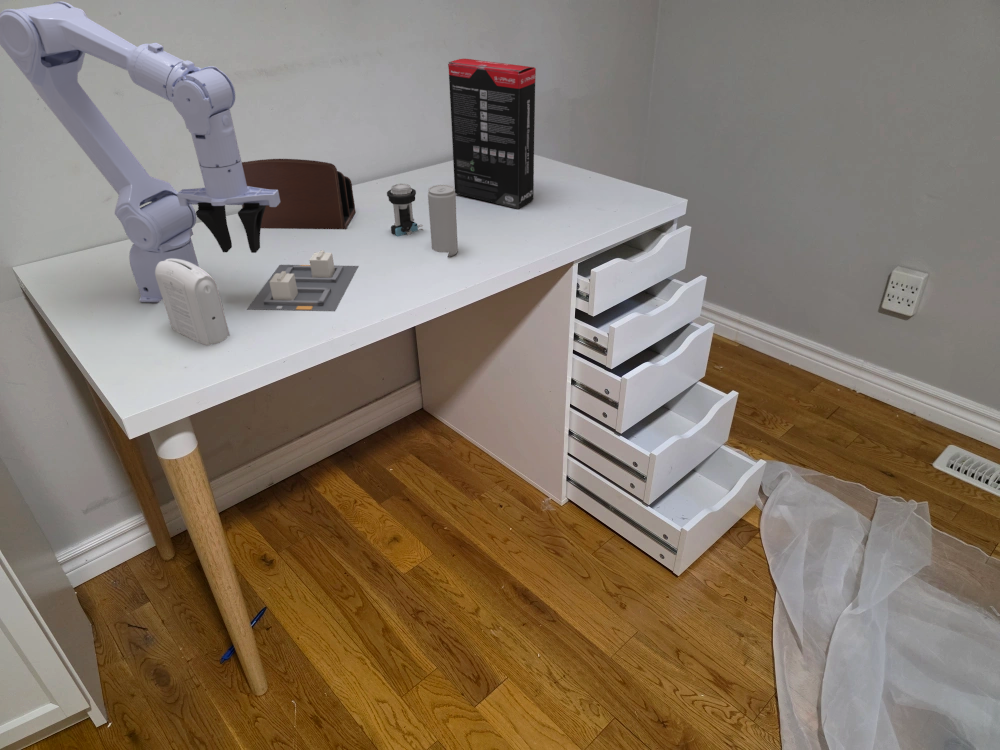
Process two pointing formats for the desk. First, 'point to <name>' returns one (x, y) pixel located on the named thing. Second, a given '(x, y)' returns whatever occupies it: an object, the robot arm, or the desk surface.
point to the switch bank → (307, 290)
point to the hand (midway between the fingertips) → (241, 249)
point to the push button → (402, 209)
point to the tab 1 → (283, 286)
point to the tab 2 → (322, 265)
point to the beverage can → (443, 219)
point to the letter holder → (303, 193)
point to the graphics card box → (493, 130)
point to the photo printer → (192, 301)
